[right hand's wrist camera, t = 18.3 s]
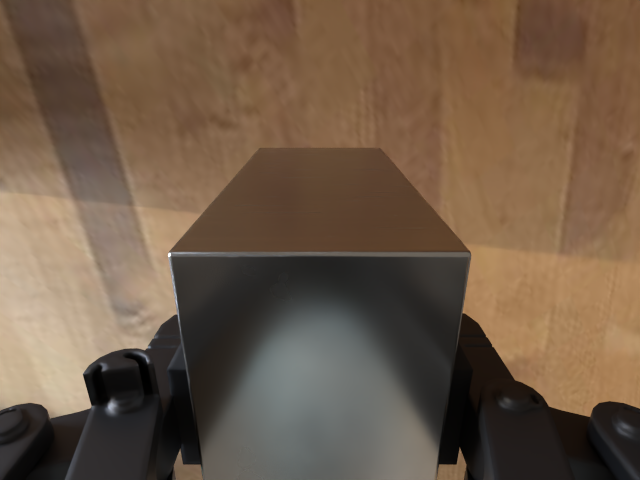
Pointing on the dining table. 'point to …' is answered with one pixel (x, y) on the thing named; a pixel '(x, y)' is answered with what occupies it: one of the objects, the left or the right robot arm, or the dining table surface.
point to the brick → (319, 320)
